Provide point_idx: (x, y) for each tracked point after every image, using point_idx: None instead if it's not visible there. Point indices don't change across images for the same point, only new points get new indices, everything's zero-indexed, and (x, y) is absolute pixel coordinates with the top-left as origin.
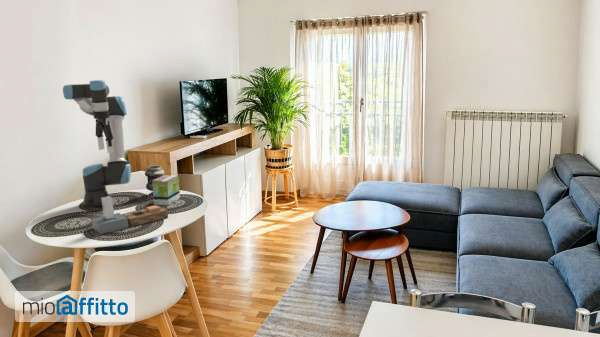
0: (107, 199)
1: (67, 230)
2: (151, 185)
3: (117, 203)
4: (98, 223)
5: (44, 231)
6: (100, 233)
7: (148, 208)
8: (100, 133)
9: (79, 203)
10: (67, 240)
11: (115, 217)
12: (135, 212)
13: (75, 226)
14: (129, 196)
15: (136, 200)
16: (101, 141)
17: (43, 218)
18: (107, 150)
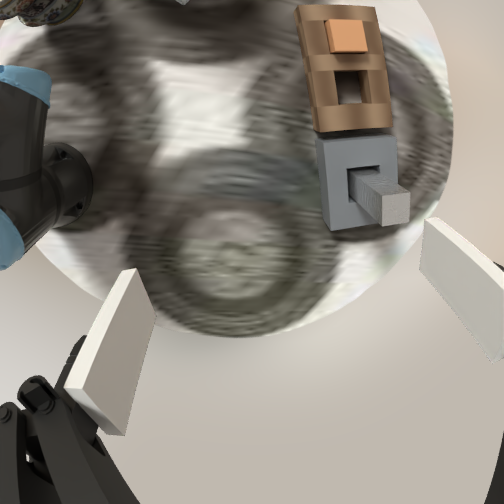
0: (407, 208)
1: (293, 275)
2: (58, 1)
3: (87, 121)
4: None
5: (263, 317)
6: None
7: (354, 50)
8: (112, 480)
9: None
10: (368, 277)
11: (366, 165)
12: (332, 90)
13: (271, 256)
14: None
15: (87, 59)
16: (116, 359)
17: None
18: (437, 282)
